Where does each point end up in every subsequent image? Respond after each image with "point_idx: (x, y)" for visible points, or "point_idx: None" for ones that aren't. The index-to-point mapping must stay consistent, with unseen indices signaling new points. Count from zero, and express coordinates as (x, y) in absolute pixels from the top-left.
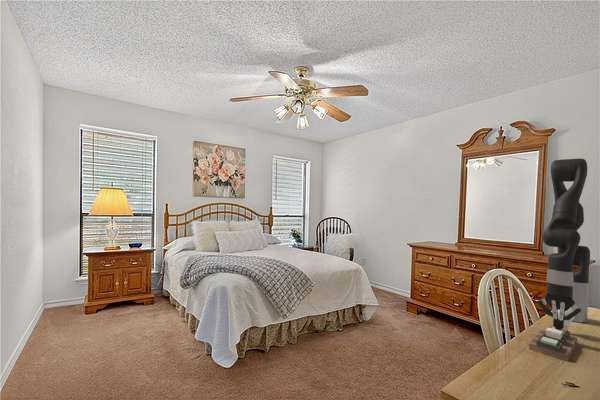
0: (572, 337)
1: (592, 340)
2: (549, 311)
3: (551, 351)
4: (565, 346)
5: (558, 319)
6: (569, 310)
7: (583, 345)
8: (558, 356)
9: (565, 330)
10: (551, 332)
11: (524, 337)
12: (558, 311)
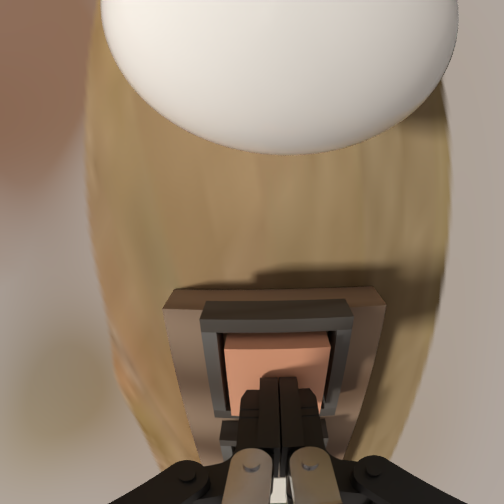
0: (359, 324)
1: (438, 110)
2: (179, 497)
3: None
4: None
5: (278, 463)
6: (426, 73)
7: (401, 285)
8: None
9: (324, 371)
10: None
11: (151, 414)
12: (198, 131)
